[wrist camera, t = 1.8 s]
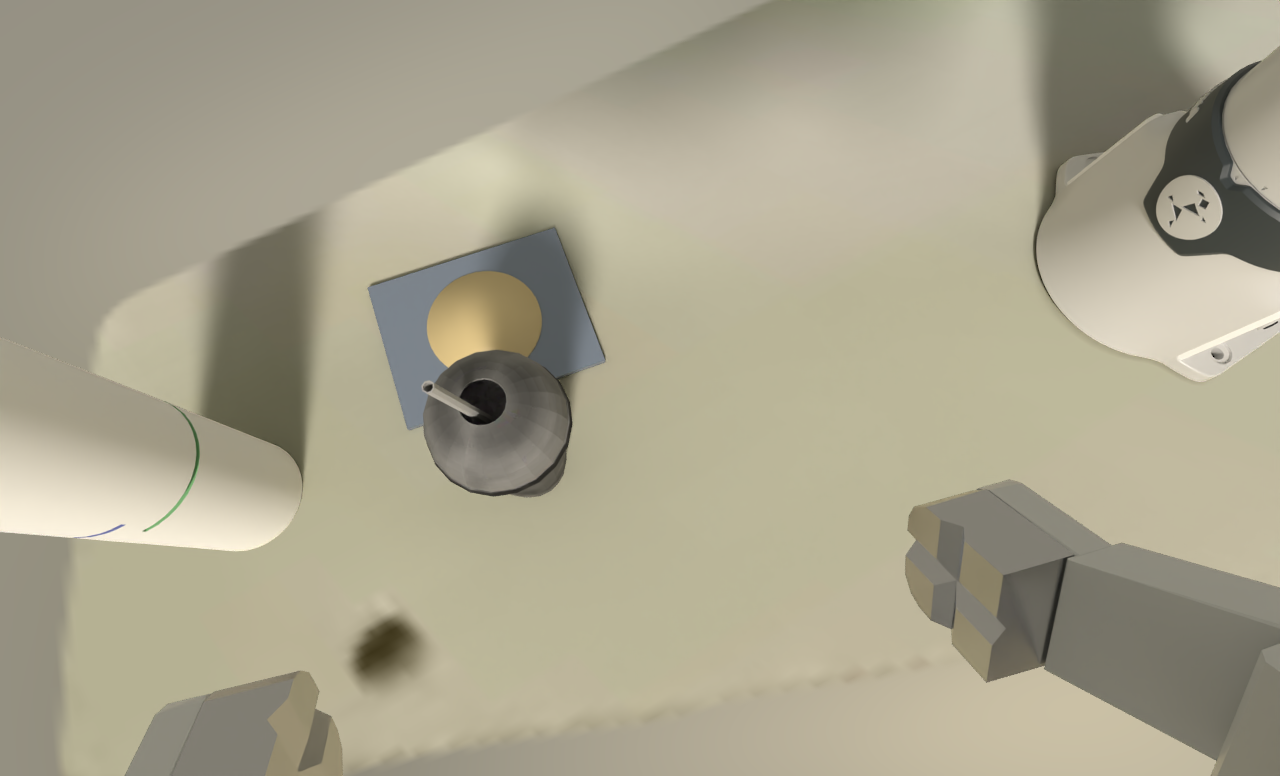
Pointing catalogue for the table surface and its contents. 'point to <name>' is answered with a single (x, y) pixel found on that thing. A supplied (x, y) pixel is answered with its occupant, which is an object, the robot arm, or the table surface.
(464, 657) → the table surface
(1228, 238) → the robot arm
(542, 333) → the card
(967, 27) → the table surface
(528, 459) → the beverage cup
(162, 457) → the cylindrical container
